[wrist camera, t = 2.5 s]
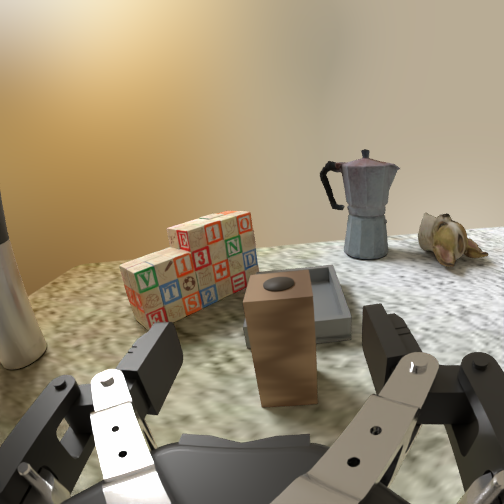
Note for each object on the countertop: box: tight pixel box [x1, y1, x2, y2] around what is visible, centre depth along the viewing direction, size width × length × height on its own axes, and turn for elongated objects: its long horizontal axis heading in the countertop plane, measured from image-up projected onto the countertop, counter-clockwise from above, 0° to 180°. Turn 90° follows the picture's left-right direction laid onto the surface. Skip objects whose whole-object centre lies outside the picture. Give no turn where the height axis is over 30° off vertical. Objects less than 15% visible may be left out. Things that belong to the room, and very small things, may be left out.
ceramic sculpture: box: [418, 213, 488, 267], centre depth 48 cm, size 11×9×15 cm
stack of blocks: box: [119, 211, 259, 331], centre depth 47 cm, size 21×6×12 cm, turn 133°
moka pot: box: [320, 149, 400, 259], centre depth 55 cm, size 10×15×20 cm, turn 73°
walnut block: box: [243, 270, 318, 407], centre depth 26 cm, size 5×5×11 cm
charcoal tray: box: [243, 265, 352, 348], centre depth 41 cm, size 12×16×3 cm
